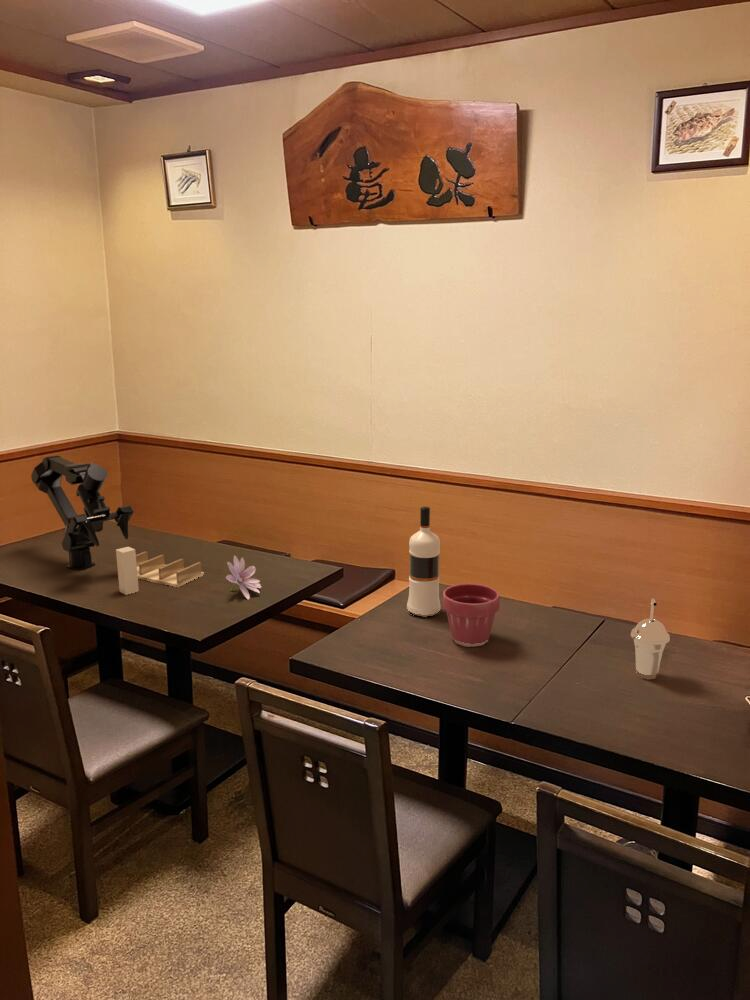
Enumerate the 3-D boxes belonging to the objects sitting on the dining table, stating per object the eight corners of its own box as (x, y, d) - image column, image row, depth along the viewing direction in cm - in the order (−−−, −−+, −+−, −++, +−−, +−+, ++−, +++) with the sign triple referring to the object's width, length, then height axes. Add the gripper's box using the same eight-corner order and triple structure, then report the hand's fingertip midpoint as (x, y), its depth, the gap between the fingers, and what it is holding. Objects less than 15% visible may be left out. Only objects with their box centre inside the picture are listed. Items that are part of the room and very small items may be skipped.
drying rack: (120, 575, 250) (119, 561, 249) (148, 563, 260) (147, 550, 259) (177, 587, 239) (176, 573, 238) (203, 575, 249) (203, 561, 248)
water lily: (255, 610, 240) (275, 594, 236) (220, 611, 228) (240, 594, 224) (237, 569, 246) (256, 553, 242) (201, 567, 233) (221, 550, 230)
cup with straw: (672, 674, 185) (680, 593, 180) (655, 689, 179) (663, 605, 173) (636, 663, 191) (643, 584, 185) (619, 677, 184) (626, 595, 179)
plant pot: (432, 633, 208) (433, 586, 204) (481, 625, 212) (482, 579, 209) (457, 656, 195) (458, 607, 191) (508, 647, 199) (510, 599, 196)
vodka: (412, 620, 216) (413, 512, 208) (402, 607, 224) (403, 503, 217) (445, 616, 218) (447, 510, 210) (434, 604, 227) (436, 501, 219)
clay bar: (119, 591, 236) (115, 549, 233) (132, 588, 239) (128, 546, 236) (126, 595, 234) (122, 552, 230) (138, 591, 236) (135, 549, 233)
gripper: (113, 508, 255) (133, 549, 250) (55, 520, 242) (75, 563, 237) (123, 488, 247) (144, 530, 243) (64, 499, 234) (85, 543, 230)
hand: (112, 542), depth 238 cm, fingers open, 9 cm apart
